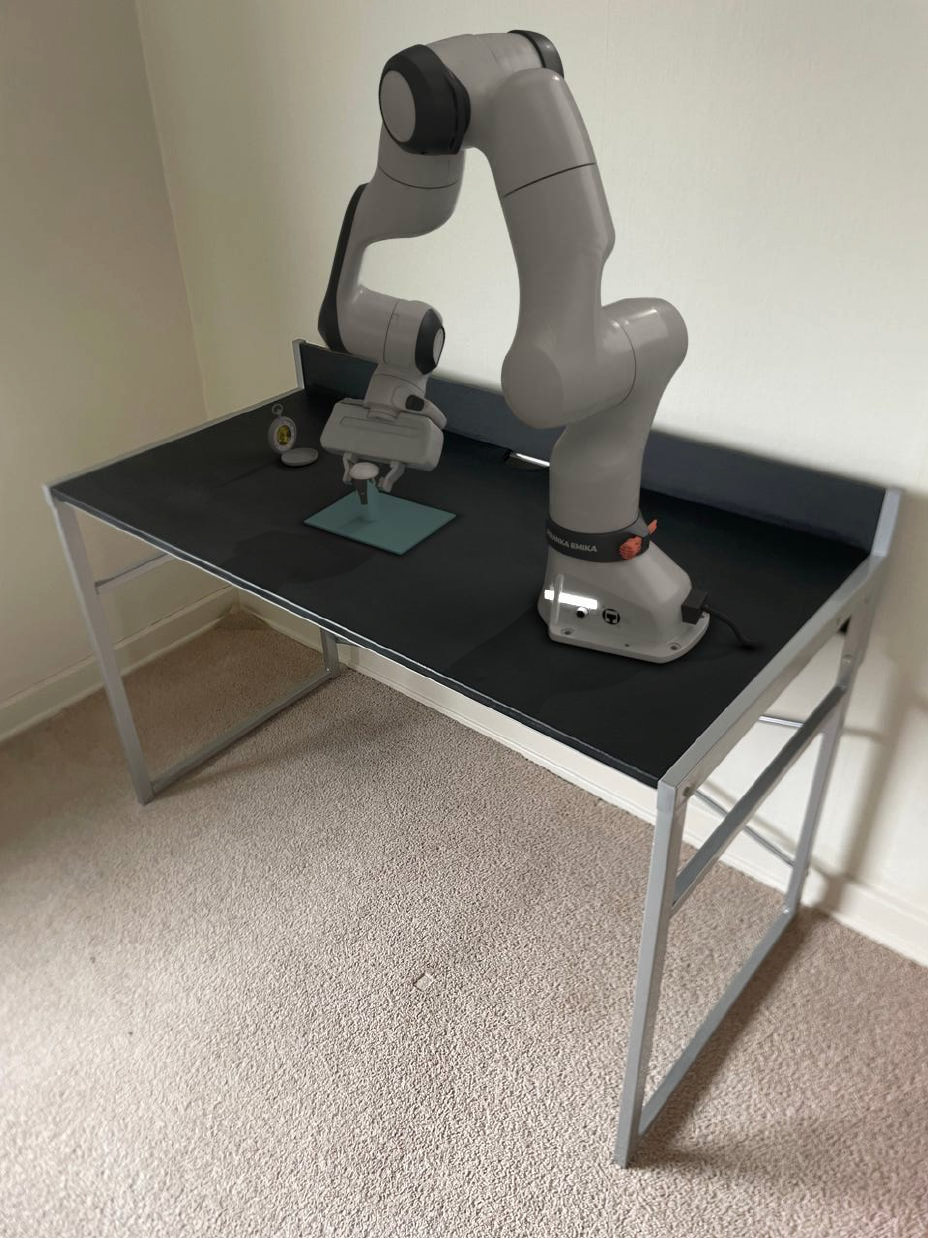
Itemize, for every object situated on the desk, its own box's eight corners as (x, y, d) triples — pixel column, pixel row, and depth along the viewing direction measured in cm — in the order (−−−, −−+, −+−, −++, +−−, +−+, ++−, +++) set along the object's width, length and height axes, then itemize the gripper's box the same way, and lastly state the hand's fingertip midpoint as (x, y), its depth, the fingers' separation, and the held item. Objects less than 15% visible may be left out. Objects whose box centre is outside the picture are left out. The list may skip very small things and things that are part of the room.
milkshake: (384, 525, 145) (378, 466, 139) (352, 523, 146) (344, 465, 140) (392, 511, 148) (386, 454, 143) (360, 509, 149) (353, 452, 144)
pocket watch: (315, 467, 165) (307, 414, 159) (269, 469, 165) (259, 416, 160) (322, 448, 172) (314, 396, 166) (277, 450, 172) (268, 399, 167)
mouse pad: (455, 516, 146) (455, 514, 146) (400, 555, 137) (400, 553, 137) (361, 489, 157) (361, 486, 156) (304, 523, 148) (303, 521, 147)
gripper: (328, 387, 146) (301, 469, 145) (440, 404, 138) (412, 490, 136) (347, 404, 152) (321, 482, 150) (456, 421, 143) (429, 504, 142)
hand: (365, 486), depth 143 cm, fingers open, 5 cm apart
